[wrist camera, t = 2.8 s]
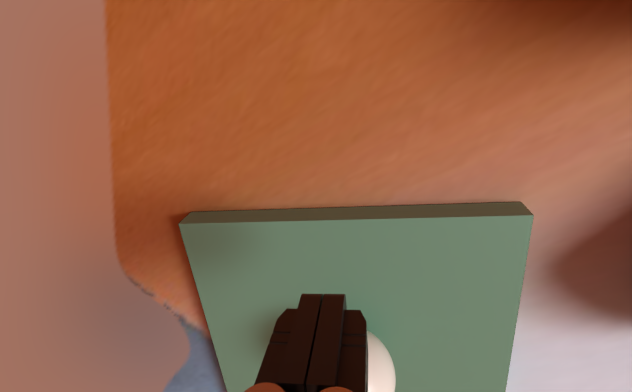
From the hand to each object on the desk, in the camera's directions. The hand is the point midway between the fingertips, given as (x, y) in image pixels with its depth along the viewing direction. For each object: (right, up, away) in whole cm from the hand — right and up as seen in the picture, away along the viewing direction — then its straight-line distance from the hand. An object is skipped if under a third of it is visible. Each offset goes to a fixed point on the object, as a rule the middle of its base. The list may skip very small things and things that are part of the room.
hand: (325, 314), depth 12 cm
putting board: (+2, -8, +12) cm, 15 cm away
